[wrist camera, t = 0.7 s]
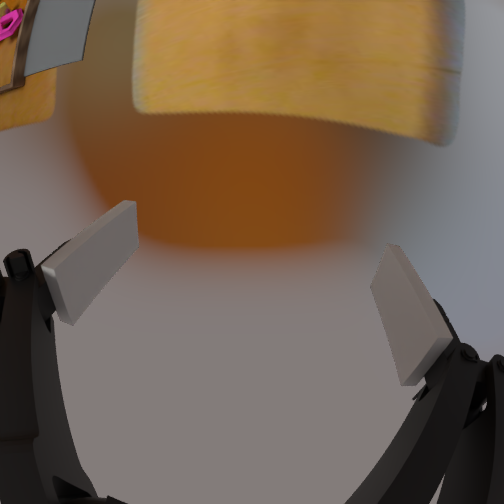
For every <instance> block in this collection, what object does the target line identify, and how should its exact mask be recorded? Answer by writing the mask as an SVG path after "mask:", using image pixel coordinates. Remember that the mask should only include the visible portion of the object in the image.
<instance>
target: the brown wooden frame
mask: <svg viewBox="0 0 504 504" xmlns="http://www.w3.org/2000/svg"><path fill="white" fill-rule="evenodd" d="M39 2H40V0H28V1H27V4H26V7H25V11H24V14H23V18H22V22H21V26H20V30H19V34H18V39H17V44H16V49H15V54H14V60H13V67H12V75H11V83H10V84H7V85H5V86H2V87H0V94H1V93H4V92H7V91H9V90H12V89H15V88H18V87H21V86H24V83H25V77H24V71H25V64H26V57H27V51H28V46H29V41H30V36H31V32H32V27H33V23H34V19H35V15H36V12H37V8H38V5H39Z"/></svg>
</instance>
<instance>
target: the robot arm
mask: <svg viewBox="0 0 504 504" xmlns="http://www.w3.org/2000/svg"><path fill="white" fill-rule="evenodd" d="M136 213H137V212H136V202H135V201H126V200H124V201H122V202H121V203H119V204H118V205H117V206H115V207H114V208H112V209H111V210H109V211H108V212H107V213H105V214H104V215H103V216H101V217H100V218H98V219H97V220H96V221H94V222H93V223H92V224H90V225H89V226H88V227H87V228H85V229H84V230H83V231H81V232H80V233H79V234H77V235H76V236H75V237H74V238H72V239H70V240H68V241H66V242H64V243H63V244H62V245H61V246H59V247H58V249H56V250H55V251H53V252H52V254H50V255H49V256H48V257H46V258H45V259H44V260H43V261H42V262H41V263H39V264H38V265H37V266H36V267H35V268H34V264H33V261H32V258H31V254H30V251H29V250H28V249H18V250H15V251H13V252H11V253H9V254H8V255H7V256H6V257H5V259H4V260H3V262H4V265H5V268H6V271H7V274H8V277H3V276H2V273H1V270H0V501H1V504H127V503H125V502H122V501H120V500H117V499H115V498H113V497H110V496H107V498H99V497H98V496H97V493H96V491H95V489H94V487H93V484H92V482H91V481H90V479H89V477H88V476H87V475H86V473H85V472H84V470H83V469H82V467H81V465H80V462H79V459H78V456H77V453H76V450H75V446H74V443H73V439H72V436H71V432H70V428H69V424H68V420H67V416H66V411H65V407H64V401H63V397H62V391H61V385H60V379H59V372H58V364H57V355H56V346H55V333H54V320H53V317H52V314H53V313H54V312H55V310H56V311H57V314H58V316H59V319H60V321H62V322H65V323H67V324H70V325H72V326H73V325H74V324H75V323H76V321H77V320H78V319H79V317H80V316H81V315H82V314H83V312H84V311H85V310H86V309H87V307H88V306H89V305H90V304H91V302H92V301H93V300H94V299H95V297H96V296H97V295H98V294H99V292H100V291H101V290H102V289H103V287H104V286H105V285H106V284H107V283H108V282H109V280H110V279H111V278H112V277H113V276H114V275H115V273H116V272H117V271H118V270H119V269H120V268H121V267H122V265H123V264H124V263H125V262H126V261H127V260H128V259H129V258H130V257H131V255H132V254H133V253H134V252H135V251H136V250H137V249H138V248H139V243H138V230H137V214H136ZM370 288H371V290H372V294H373V296H374V299H375V302H376V305H377V308H378V310H379V313H380V316H381V319H382V322H383V325H384V329H385V331H386V334H387V338H388V341H389V345H390V348H391V351H392V354H393V358H394V361H395V365H396V369H397V372H398V376H399V380H400V383H401V386H415V385H417V384H418V383H419V382H420V380H421V379H422V378H423V377H425V381H426V384H425V385H424V387H423V388H422V389H421V390H420V391H419V392H418V393H417V394H416V395H415V396H414V398H413V400H415V399H416V398H417V399H416V401H415V403H414V405H413V407H412V408H411V410H410V412H409V414H408V416H407V417H406V419H405V421H404V423H403V424H402V426H401V428H400V429H399V431H398V432H397V434H396V436H395V437H394V439H393V440H392V442H391V444H390V445H389V447H388V448H387V450H386V451H385V453H384V454H383V456H382V457H381V458H380V460H379V461H378V463H377V464H376V465H375V467H374V468H373V469H372V471H371V472H370V473H369V475H368V476H367V477H366V479H365V480H364V481H363V482H362V484H361V485H360V486H359V487H358V489H357V490H356V491H355V492H354V493H353V494H352V496H351V497H350V498H349V499H348V500H347V501H346V503H345V504H429V503H430V501H431V499H432V498H433V496H434V494H435V492H436V490H437V488H438V486H439V484H440V482H441V480H442V478H443V476H444V474H445V476H444V480H443V484H442V488H441V491H440V495H439V498H438V501H437V504H504V357H503V356H501V355H498V354H497V355H494V356H493V358H492V359H491V360H490V361H489V362H485V361H482V360H480V358H479V356H478V354H477V352H476V351H475V349H474V348H472V347H471V346H470V345H468V344H466V343H461V342H460V340H459V338H458V336H457V334H456V332H455V330H454V328H453V326H452V325H451V323H450V322H449V319H448V317H447V316H446V314H445V312H444V310H443V308H442V306H441V305H440V304H439V303H438V302H437V301H436V300H435V299H432V297H431V296H430V294H429V292H428V290H427V289H426V287H425V285H424V284H423V282H422V280H421V279H420V277H419V275H418V274H417V272H416V271H415V269H414V268H413V266H412V264H411V263H410V261H409V260H408V258H407V257H406V255H405V254H404V252H403V251H402V249H401V248H400V246H397V245H392V244H387V245H386V248H385V251H384V253H383V256H382V258H381V261H380V264H379V266H378V269H377V271H376V274H375V276H374V279H373V281H372V283H371V286H370ZM486 402H487V405H486V408H485V410H483V411H482V406H483V405H484V404H485V403H486Z"/></svg>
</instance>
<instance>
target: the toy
mask: <svg viewBox="0 0 504 504" xmlns="http://www.w3.org/2000/svg"><path fill="white" fill-rule="evenodd" d="M22 18H23V12H22V10H21V8H20V9H16V10H14V11H11V10H10V8H9V7H8V6H7V5H6V3H5V2H3V3H2V4H0V41H1V40H3V39H5V38H7V37H9V36H11V35H13V34H14V33H15V31H16V30H17V28H18V27H19V25H20V24H21V22H22ZM11 21H13V22H12V23H11V24H10V26H9V27H8V28H6V27H7V25H8V23H9V22H11Z"/></svg>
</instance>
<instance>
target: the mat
mask: <svg viewBox="0 0 504 504" xmlns="http://www.w3.org/2000/svg"><path fill="white" fill-rule="evenodd" d="M95 1H96V0H40V2H39V5H38V8H37V12H36V15H35V19H34V23H33V27H32V32H31V36H30V41H29V46H28V51H27V57H26V64H25V71H24V77H25V76H28V75H31V74H34V73H37V72H40V71H43V70H47V69H50V68H54V67H57V66H61V65H65V64H69V63H72V62H76V61H81V60H83V56H84V50H85V45H86V39H87V34H88V29H89V25H90V20H91V16H92V12H93V8H94V5H95Z"/></svg>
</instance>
